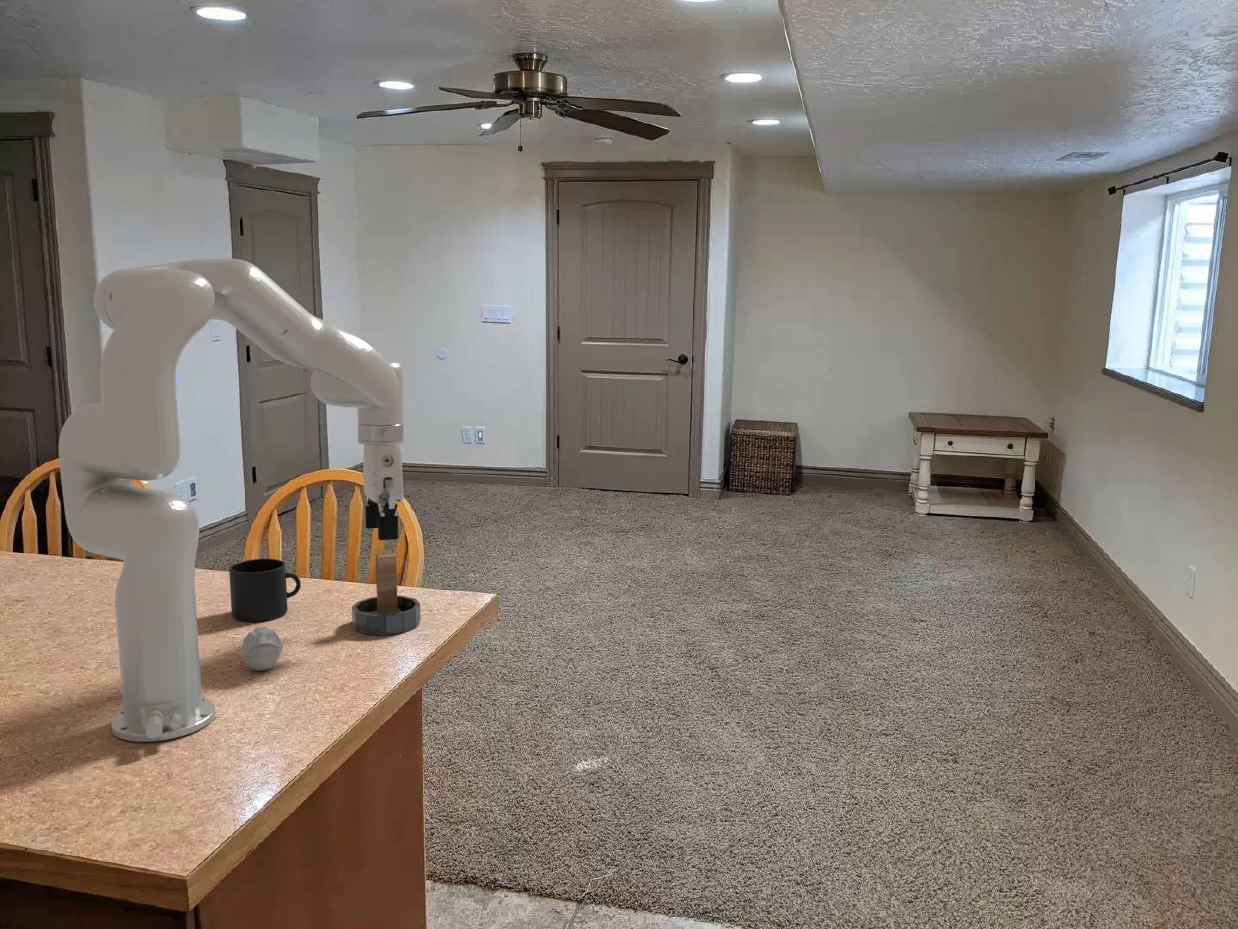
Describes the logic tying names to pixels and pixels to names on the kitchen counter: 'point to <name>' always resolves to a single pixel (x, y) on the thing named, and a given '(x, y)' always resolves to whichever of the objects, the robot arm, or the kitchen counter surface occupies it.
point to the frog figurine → (261, 648)
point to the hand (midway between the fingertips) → (381, 533)
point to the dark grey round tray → (386, 617)
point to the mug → (260, 589)
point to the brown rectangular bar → (386, 583)
